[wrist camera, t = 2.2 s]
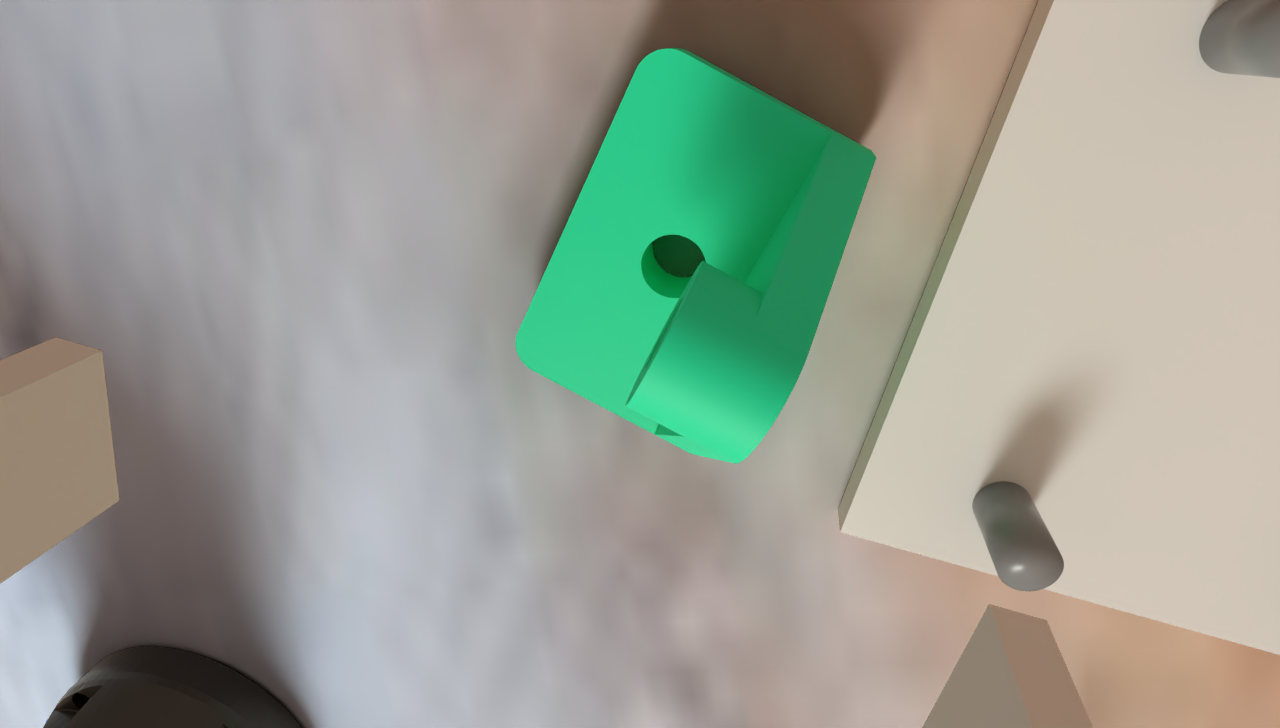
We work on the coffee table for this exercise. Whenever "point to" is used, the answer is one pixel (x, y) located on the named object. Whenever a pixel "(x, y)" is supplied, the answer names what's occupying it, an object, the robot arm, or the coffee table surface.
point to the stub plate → (1105, 328)
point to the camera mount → (720, 287)
